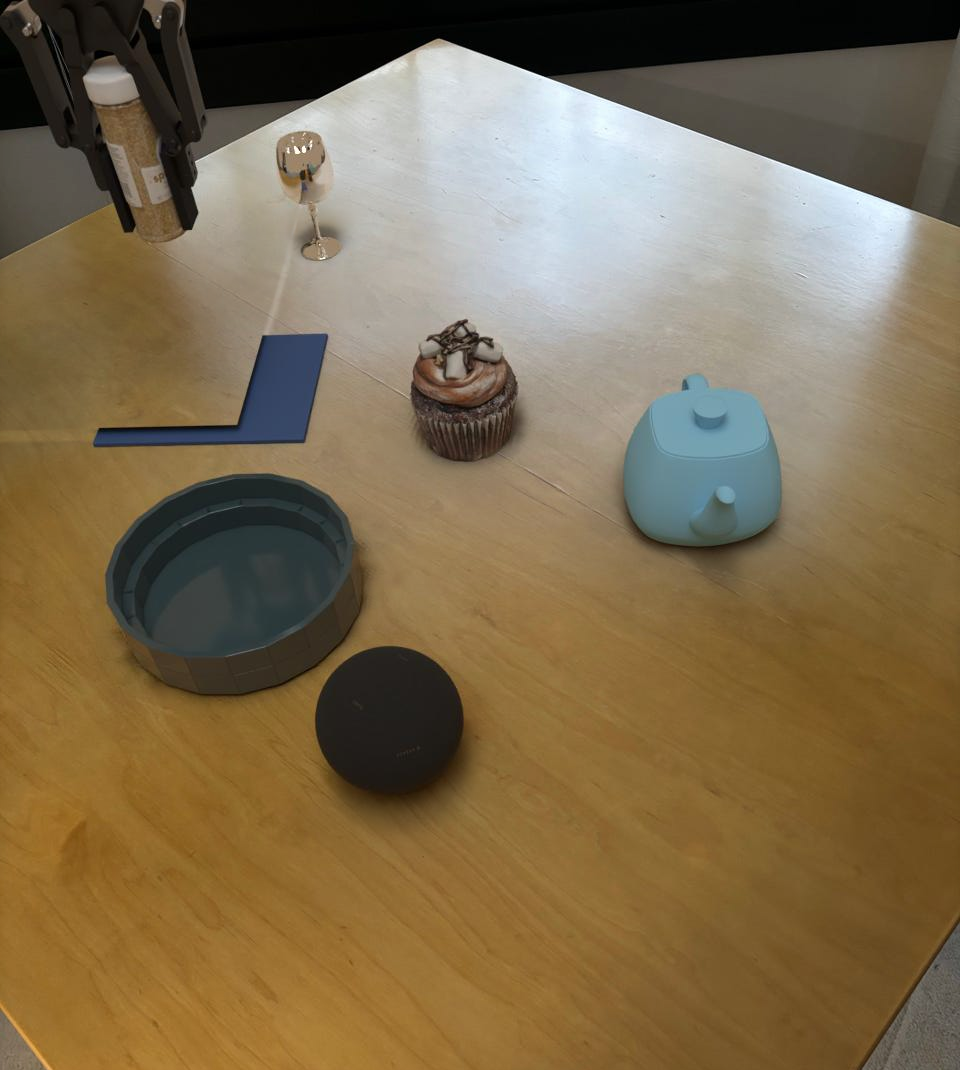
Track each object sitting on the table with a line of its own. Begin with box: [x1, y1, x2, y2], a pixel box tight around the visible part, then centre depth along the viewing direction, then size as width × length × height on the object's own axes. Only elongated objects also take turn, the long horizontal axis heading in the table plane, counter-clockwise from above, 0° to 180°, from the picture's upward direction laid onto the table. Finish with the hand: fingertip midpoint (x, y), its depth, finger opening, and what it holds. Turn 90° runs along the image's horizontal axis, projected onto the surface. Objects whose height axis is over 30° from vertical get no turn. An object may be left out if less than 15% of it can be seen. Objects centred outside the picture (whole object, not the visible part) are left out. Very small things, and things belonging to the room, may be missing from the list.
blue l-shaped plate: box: [92, 332, 329, 448], centre depth 104 cm, size 20×16×1 cm
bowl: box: [104, 472, 365, 695], centre depth 85 cm, size 19×19×5 cm
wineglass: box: [275, 130, 342, 261], centre depth 114 cm, size 6×6×12 cm
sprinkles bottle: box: [83, 54, 188, 244], centre depth 86 cm, size 5×5×13 cm
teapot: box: [622, 373, 783, 547], centre depth 85 cm, size 13×11×18 cm
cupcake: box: [409, 318, 520, 462], centre depth 94 cm, size 10×10×10 cm
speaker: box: [314, 645, 465, 796], centre depth 73 cm, size 10×10×10 cm
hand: (161, 222), depth 90 cm, fingers closed on sprinkles bottle, 4 cm apart
